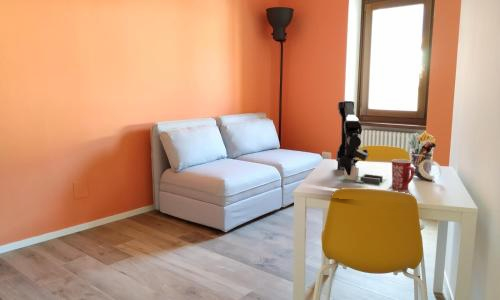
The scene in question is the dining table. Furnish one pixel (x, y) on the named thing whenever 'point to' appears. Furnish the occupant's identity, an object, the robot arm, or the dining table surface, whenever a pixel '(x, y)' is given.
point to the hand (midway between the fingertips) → (350, 174)
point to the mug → (401, 174)
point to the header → (371, 178)
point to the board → (361, 181)
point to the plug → (353, 173)
